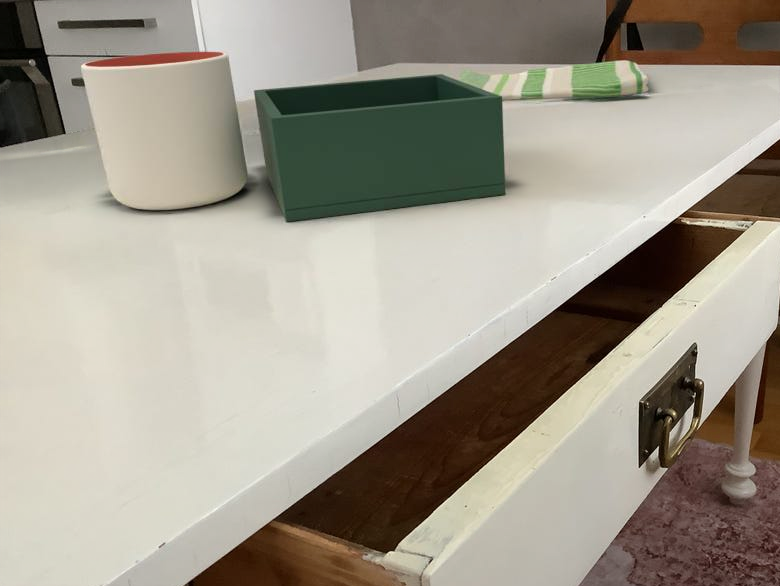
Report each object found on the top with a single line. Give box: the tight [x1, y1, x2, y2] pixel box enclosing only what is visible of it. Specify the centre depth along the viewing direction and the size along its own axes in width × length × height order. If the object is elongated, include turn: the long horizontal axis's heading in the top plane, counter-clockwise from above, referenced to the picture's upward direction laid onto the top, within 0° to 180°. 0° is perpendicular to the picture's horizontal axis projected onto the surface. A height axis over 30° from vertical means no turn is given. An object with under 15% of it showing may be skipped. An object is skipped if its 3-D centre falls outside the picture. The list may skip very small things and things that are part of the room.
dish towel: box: [458, 59, 650, 101], centre depth 105 cm, size 18×23×3 cm
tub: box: [253, 73, 506, 223], centre depth 64 cm, size 16×16×7 cm
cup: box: [80, 51, 248, 211], centre depth 62 cm, size 10×10×10 cm
